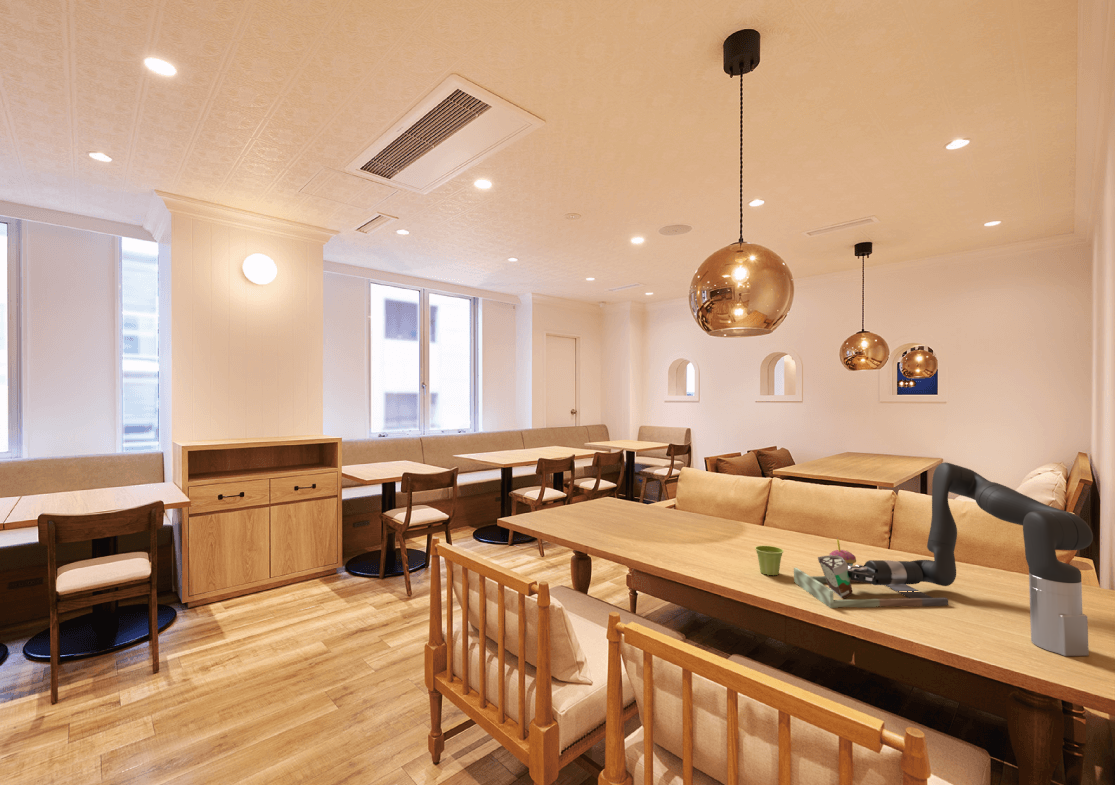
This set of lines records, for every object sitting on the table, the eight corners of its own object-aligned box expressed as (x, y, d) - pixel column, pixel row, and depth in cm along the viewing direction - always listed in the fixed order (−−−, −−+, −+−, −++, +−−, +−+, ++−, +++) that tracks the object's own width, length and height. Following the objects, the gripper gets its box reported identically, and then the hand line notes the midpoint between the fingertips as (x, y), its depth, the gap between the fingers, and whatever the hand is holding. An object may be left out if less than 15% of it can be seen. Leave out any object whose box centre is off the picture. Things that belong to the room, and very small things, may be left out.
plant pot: (757, 567, 183) (757, 544, 183) (785, 571, 178) (785, 547, 178) (753, 575, 175) (752, 550, 175) (782, 579, 170) (781, 554, 170)
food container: (864, 595, 151) (853, 563, 152) (844, 600, 152) (833, 569, 152) (845, 580, 163) (835, 551, 164) (827, 585, 164) (817, 556, 164)
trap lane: (948, 605, 147) (947, 588, 147) (830, 608, 146) (829, 591, 146) (897, 580, 168) (897, 565, 168) (794, 582, 167) (793, 567, 167)
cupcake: (842, 575, 174) (841, 540, 174) (823, 567, 182) (823, 534, 183) (862, 572, 176) (861, 539, 177) (842, 565, 184) (842, 533, 185)
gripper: (871, 554, 164) (820, 554, 164) (899, 567, 151) (844, 567, 151) (871, 577, 164) (820, 577, 164) (900, 592, 151) (844, 592, 151)
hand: (831, 572), depth 157 cm, fingers closed
